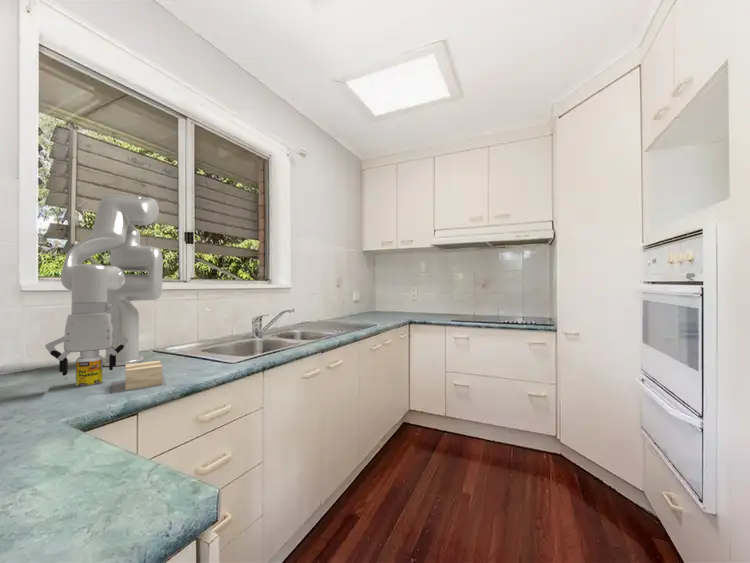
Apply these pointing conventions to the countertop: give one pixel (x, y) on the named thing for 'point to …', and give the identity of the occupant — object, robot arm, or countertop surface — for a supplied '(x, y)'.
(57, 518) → the countertop surface
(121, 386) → the slate tile
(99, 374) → the supplement bottle
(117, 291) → the robot arm
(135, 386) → the maple block
